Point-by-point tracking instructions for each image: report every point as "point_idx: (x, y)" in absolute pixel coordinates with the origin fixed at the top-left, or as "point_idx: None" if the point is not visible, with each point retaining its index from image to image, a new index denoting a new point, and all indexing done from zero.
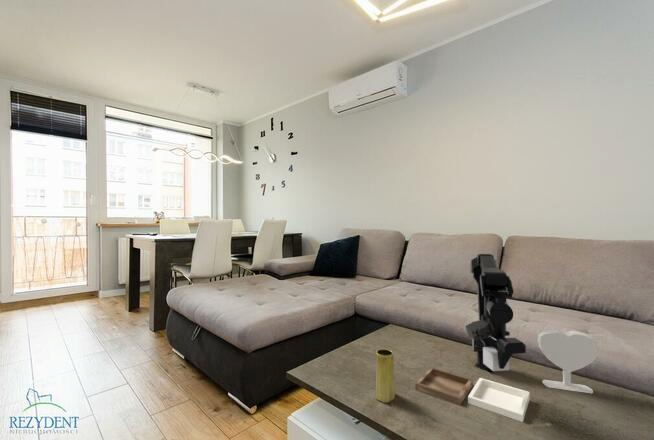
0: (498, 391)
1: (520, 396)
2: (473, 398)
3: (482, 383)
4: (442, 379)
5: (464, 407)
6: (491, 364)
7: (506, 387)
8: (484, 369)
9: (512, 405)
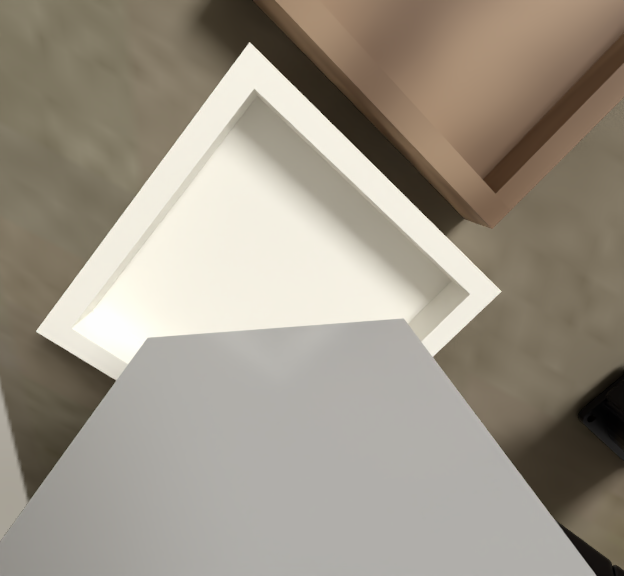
0: None
1: None
2: (223, 82)
3: (457, 285)
4: (601, 2)
5: (226, 12)
6: (165, 382)
7: None
8: (616, 385)
9: None
